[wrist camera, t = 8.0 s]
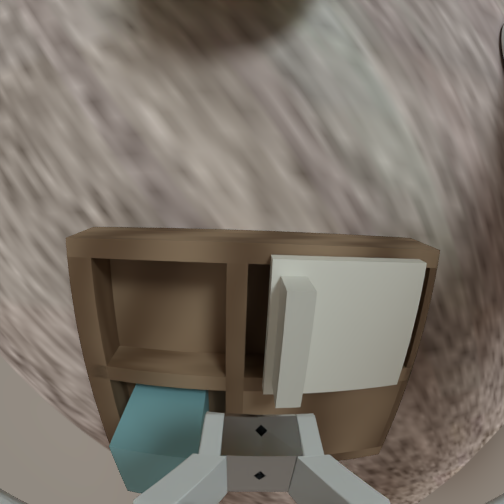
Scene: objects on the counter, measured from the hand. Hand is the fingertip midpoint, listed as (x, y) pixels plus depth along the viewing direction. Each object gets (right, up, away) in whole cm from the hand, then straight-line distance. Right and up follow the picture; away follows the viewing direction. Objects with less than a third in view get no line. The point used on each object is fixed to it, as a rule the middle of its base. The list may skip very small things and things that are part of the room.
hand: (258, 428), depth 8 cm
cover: (+5, +1, +8) cm, 9 cm away
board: (0, -2, +12) cm, 12 cm away
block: (-5, -5, +12) cm, 14 cm away
